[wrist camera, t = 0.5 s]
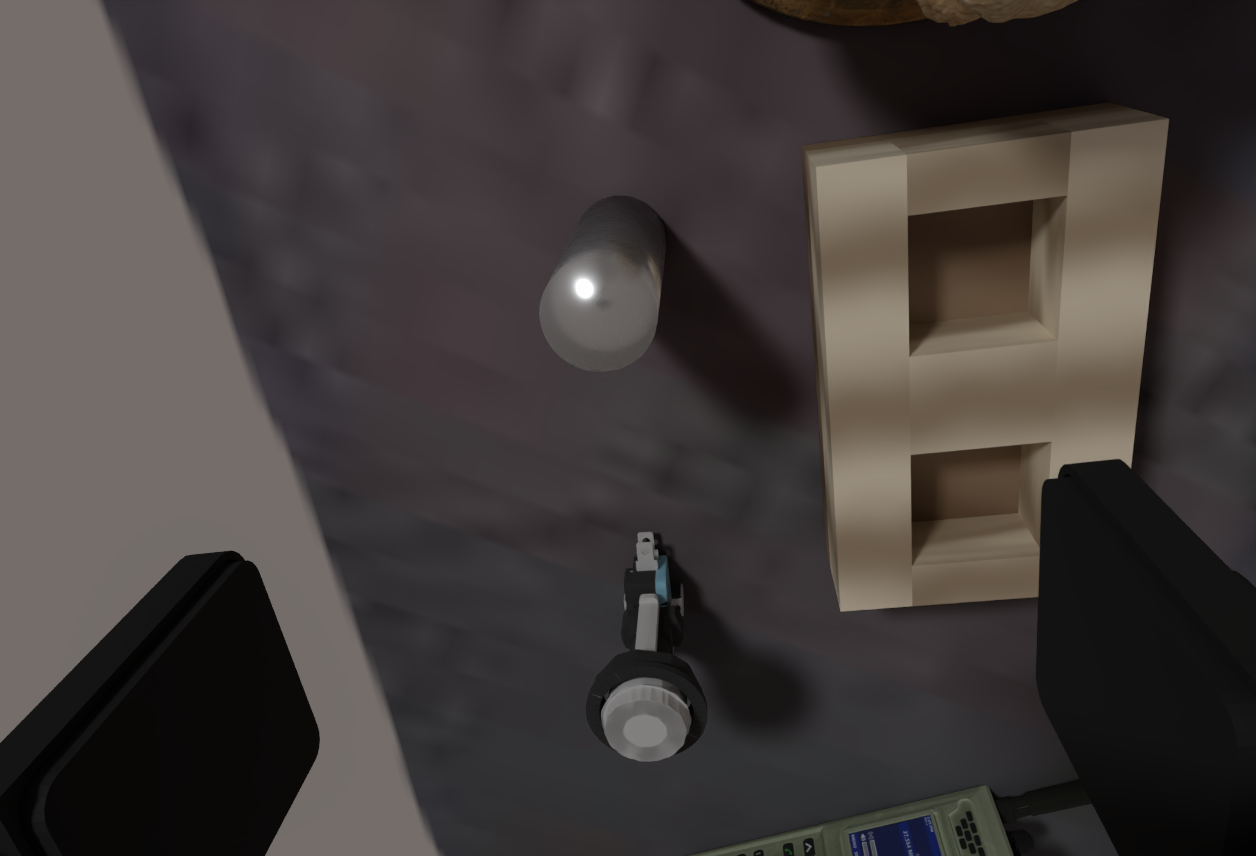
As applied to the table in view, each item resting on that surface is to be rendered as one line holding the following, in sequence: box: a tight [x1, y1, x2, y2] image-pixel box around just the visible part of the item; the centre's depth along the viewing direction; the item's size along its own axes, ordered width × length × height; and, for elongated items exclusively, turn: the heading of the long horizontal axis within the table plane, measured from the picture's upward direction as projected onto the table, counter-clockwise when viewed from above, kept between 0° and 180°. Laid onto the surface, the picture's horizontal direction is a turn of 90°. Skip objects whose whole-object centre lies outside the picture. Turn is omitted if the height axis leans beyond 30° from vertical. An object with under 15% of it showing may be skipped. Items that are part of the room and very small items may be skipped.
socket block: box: [802, 102, 1169, 611], centre depth 38 cm, size 20×12×5 cm, turn 9°
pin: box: [540, 196, 667, 372], centre depth 34 cm, size 4×4×10 cm
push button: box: [586, 532, 707, 762], centre depth 42 cm, size 7×5×10 cm
